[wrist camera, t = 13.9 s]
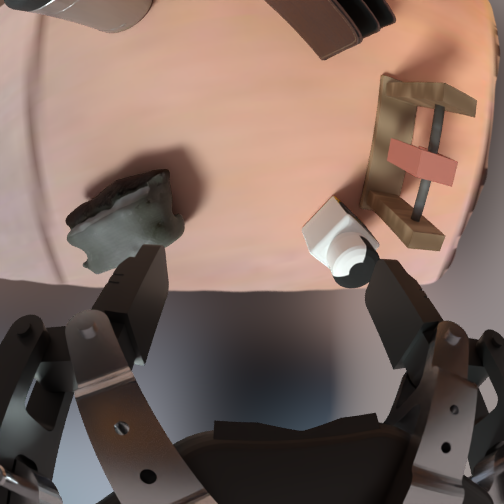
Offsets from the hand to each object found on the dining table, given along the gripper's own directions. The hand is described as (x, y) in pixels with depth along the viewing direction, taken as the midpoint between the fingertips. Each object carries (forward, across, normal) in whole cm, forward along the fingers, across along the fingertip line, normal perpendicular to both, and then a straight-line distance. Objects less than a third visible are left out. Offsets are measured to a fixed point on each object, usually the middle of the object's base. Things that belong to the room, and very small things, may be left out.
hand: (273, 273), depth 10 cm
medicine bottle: (+28, -12, +11) cm, 33 cm away
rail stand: (+28, -19, -3) cm, 34 cm away
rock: (+28, +18, +10) cm, 36 cm away
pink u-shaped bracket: (+23, -19, -3) cm, 30 cm away
